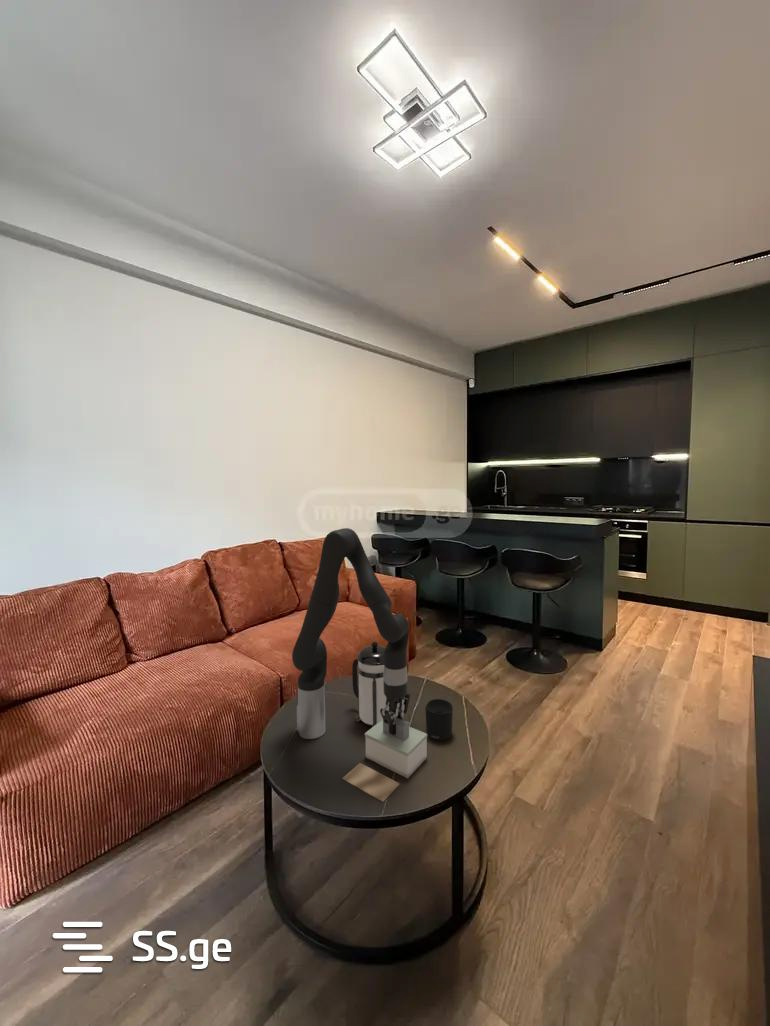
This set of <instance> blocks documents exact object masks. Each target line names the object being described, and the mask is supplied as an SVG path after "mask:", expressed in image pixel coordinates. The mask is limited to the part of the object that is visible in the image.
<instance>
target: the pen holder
mask: <svg viewBox="0 0 770 1026" xmlns="http://www.w3.org/2000/svg"><path fill="white" fill-rule="evenodd" d="M453 708H454V707H453V704H452V703H451V702H450V701H448V700H445V699H441V698H435V699H430V700H429V701H428V702H427V704H426V705H425V725H426V727H425V728H426V734H427V737H429V738H430V739H432V740H434V741H436V742H437V741H439V742H443V741H447V740H448V739H450V738H451V736H452V732H453V730H452V729H453V714H454V713H453V712H454V710H453Z"/></svg>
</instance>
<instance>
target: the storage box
mask: <svg viewBox="0 0 770 1026" xmlns="http://www.w3.org/2000/svg"><path fill="white" fill-rule="evenodd" d="M427 738H428V737H427ZM427 738H426V739H425V740H424V741H423V742H422V743H421V744H420V745H419V746H418V747H417V748H416V749H415V750H414V751H413V752H412V753H411V754H410V755H409V756H408V757H407V756H405V755H403V754H401V753H399V752H397V751H394V750H392V749H390V748H388V747H386V746H384V745H382V744H379V743H377V742H375V741H373V740H371V739H369V738H367V737H365V758H366V759H368V760H370V761H373V762H374V763H375V764H379V765H380V766H382V767H384V768H386V769H388V770H390V771H392V772H394V773H395V774H398V775H400V776H402V777H403V778H406V779H409V777H410V776H412V774H414V772H416V770H417V769H418V768H419V767H420V766H421V765H422V764H423V763H424V762H425V761H426V759H427V758H428V757H427V754H428V753H427V751H428V750H427V749H428V747H427V741H428V739H427Z"/></svg>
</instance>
